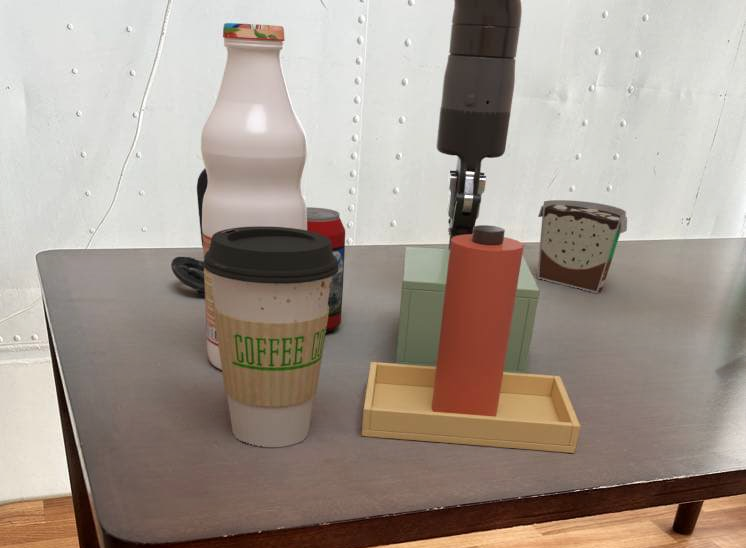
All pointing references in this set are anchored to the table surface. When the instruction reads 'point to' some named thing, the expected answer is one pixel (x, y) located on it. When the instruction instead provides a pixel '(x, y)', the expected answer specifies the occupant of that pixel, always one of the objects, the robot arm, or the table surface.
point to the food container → (578, 242)
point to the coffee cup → (270, 326)
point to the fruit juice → (251, 148)
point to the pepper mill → (476, 321)
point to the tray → (508, 429)
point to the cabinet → (426, 308)
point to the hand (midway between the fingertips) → (455, 270)
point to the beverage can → (333, 229)
